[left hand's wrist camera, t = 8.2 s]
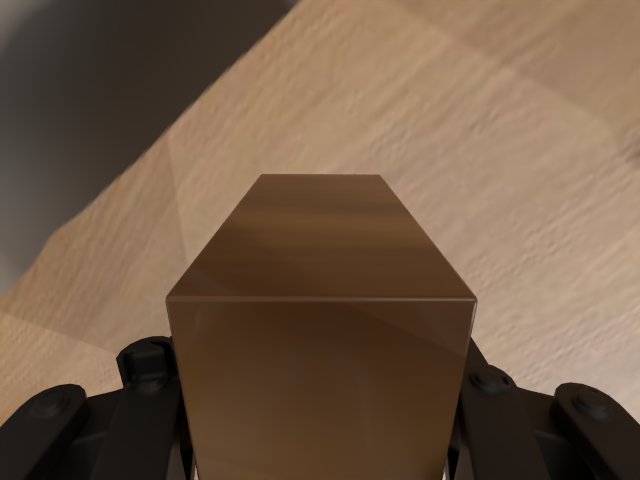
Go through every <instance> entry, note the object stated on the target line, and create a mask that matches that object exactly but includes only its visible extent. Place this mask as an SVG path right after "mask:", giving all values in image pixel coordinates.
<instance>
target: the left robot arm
mask: <svg viewBox="0 0 640 480" xmlns="http://www.w3.org/2000/svg"><path fill="white" fill-rule="evenodd" d="M116 361H117V364H118V368H119V372H120V376H121V379H122V383H123V388H122V389H119V390H116V391H113V392H108V393H104V394H100V395H96V396H91V397H87V395H86V392H85V390H84V389H83V388H82V387H81V386H80V385H75V384H64V385H58V386H55V387H52V388H49V389H46V390H44V391H42V392H40V393H38V394H37V395H35V396H33V397H31V398H30V399H29V400H28V401H26V402H25V403H24V404H23V405H22V406H20V407H19V408H18V410H17V411H16V412H15V413H14V414H13V415H12V416H11V417H10V418H9V419H8V420H7V421H6V422H5V423H4V424H3V425H2V426H1V427H0V480H194V476H195V465H196V464H195V458H194V453H193V447H192V442H191V436H190V431H189V426H188V420H187V415H186V409H185V404H184V399H183V393H182V388H181V382H180V377H179V372H178V366H177V361H176V355H175V350H174V345H173V339H172V336H170V338H168V337H165V336H152V337H148V338H144V339H140V340H138V341H136V342H134V343H132V344H130V345H128V346H127V347H126V348H124V349H123V350H122V351H121V352H120V353H119V355H118V356H117V357H116ZM444 472H445V475H446V480H640V424H639V423H638V422H637V421H636V420H635V419H634V418H633V417H632V416H631V415H630V414H629V413H628V412H627V411H626V410H625V409H624V408H623V407H622V406H621V405H620V404H619V403H617V402H616V401H615V400H614V399H613V398H611V397H610V396H609V395H607V394H605V393H603V392H601V391H600V390H598V389H596V388H593V387H590V386H587V385H584V384H579V383H572V382H570V383H564V384H561V385H560V386H558V387H557V388H556V390H555V393H554V396H551V395H546V394H542V393H538V392H534V391H529V390H526V389H522V388H519V387H517V386H516V384H515V383H514V381H513V379H512V378H511V377H510V376H509V375H507V374H506V373H505V372H504V371H502V370H501V369H499V368H497V367H495V366H493V365H489V364H488V363H487V361H486V360H485V358H484V356H483V355H482V353H481V352H480V350H479V349H478V347H477V345H476V344H475V342H474V341H473V339H472V338H470V343H469V348H468V353H467V358H466V363H465V368H464V373H463V378H462V383H461V388H460V393H459V398H458V403H457V408H456V413H455V418H454V423H453V428H452V433H451V438H450V443H449V448H448V453H447V458H446V463H445V468H444ZM443 474H444V473H443Z"/></svg>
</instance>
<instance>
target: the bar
mask: <svg viewBox="0 0 640 480" xmlns="http://www.w3.org/2000/svg"><path fill="white" fill-rule="evenodd" d="M166 307H167V312H168V317H169V323H170V328H171V334H172V339H173V345H174V350H175V355H176V361H177V366H178V372H179V377H180V382H181V388H182V393H183V399H184V404H185V409H186V415H187V420H188V426H189V431H190V436H191V442H192V447H193V453H194V458H195V464H196V469H197V474H198V480H442V478H443V473H444V468H445V463H446V458H447V453H448V448H449V443H450V438H451V433H452V428H453V423H454V418H455V413H456V408H457V403H458V398H459V393H460V388H461V383H462V378H463V373H464V368H465V363H466V358H467V353H468V348H469V343H470V338H471V333H472V328H473V323H474V318H475V313H476V308H477V298H476V296H475V295H474V294H473V292H472V291H471V290H470V289H469V287H468V286H467V285H466V283H465V282H464V281H463V280H462V278H461V277H460V276H459V275H458V273H457V272H456V271H455V270H454V268H453V267H452V266H451V264H450V263H449V262H448V261H447V259H446V258H445V257H444V256H443V254H442V253H441V252H440V251H439V249H438V248H437V247H436V245H435V244H434V243H433V242H432V240H431V239H430V238H429V237H428V235H427V234H426V233H425V231H424V230H423V229H422V228H421V226H420V225H419V224H418V223H417V221H416V220H415V219H414V218H413V216H412V215H411V214H410V212H409V211H408V210H407V209H406V207H405V206H404V205H403V204H402V202H401V201H400V200H399V199H398V197H397V196H396V195H395V193H394V192H393V191H392V190H391V188H390V187H389V186H388V185H387V183H386V182H385V181H384V180H383V178H382V177H381V176H380V175H333V174H262V175H260V177H259V178H258V179H257V181H256V182H255V183H254V184H253V186H252V187H251V188H250V190H249V191H248V192H247V193H246V195H245V196H244V197H243V199H242V200H241V201H240V202H239V204H238V205H237V206H236V208H235V209H234V210H233V211H232V213H231V214H230V215H229V217H228V218H227V219H226V220H225V222H224V223H223V224H222V226H221V227H220V228H219V229H218V231H217V232H216V233H215V235H214V236H213V237H212V238H211V240H210V241H209V242H208V244H207V245H206V246H205V247H204V249H203V250H202V251H201V253H200V254H199V255H198V256H197V258H196V259H195V260H194V262H193V263H192V264H191V265H190V267H189V268H188V269H187V271H186V272H185V273H184V274H183V276H182V277H181V278H180V280H179V281H178V282H177V283H176V285H175V286H174V287H173V289H172V290H171V291H170V292H169V294H168V295H167V297H166Z"/></svg>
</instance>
